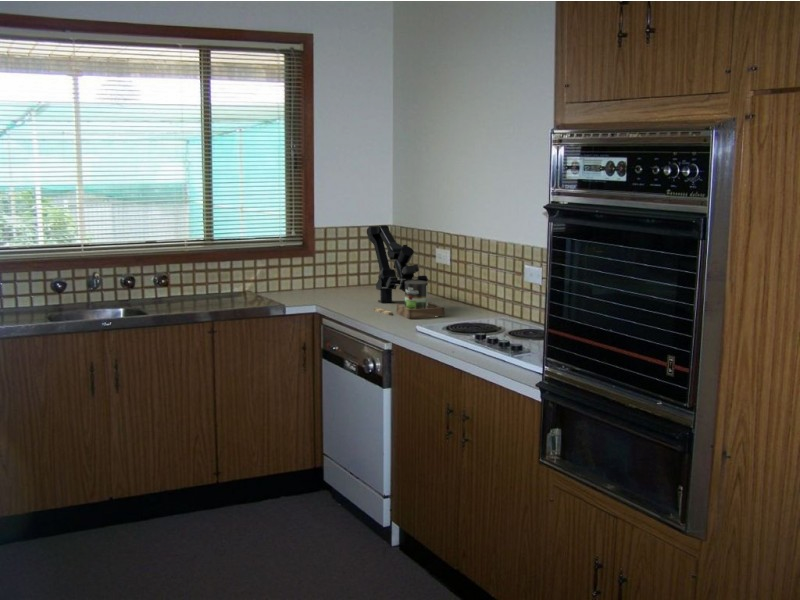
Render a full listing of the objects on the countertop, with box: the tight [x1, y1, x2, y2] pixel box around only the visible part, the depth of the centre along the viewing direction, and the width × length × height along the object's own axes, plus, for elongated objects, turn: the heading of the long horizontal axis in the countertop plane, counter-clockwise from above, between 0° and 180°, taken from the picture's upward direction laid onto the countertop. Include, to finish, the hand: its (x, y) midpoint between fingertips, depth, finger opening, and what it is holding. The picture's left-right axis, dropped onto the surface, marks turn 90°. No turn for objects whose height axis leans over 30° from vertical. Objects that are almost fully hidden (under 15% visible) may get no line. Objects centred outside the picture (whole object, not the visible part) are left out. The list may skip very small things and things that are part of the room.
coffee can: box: [404, 280, 429, 309], centre depth 409 cm, size 10×10×14 cm
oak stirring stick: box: [372, 307, 394, 316], centre depth 412 cm, size 14×2×2 cm, turn 31°
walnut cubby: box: [396, 301, 445, 320], centre depth 405 cm, size 15×16×4 cm
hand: (412, 296), depth 413 cm, fingers closed, pressing on coffee can
